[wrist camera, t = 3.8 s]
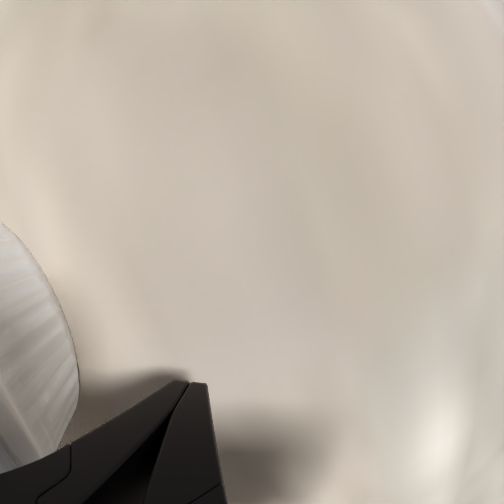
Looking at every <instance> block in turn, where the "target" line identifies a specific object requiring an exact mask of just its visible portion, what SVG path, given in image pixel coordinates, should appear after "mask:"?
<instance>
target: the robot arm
mask: <svg viewBox="0 0 504 504" xmlns="http://www.w3.org/2000/svg"><path fill="white" fill-rule="evenodd" d="M0 504H228V501H227V497H226V492H225V487H224V483H223V478H222V472H221V467H220V462H219V456H218V450H217V445H216V439H215V433H214V426H213V420H212V414H211V407H210V400H209V393H208V386H207V384H206V383H199V382H191V383H190V382H189V381H183V380H173V381H171V382H170V383H168V384H167V385H165V386H164V387H162V388H161V389H159V390H158V391H156V392H155V393H153V394H151V395H150V396H148V397H147V398H145V399H144V400H142V401H141V402H139V403H137V404H136V405H134V406H133V407H131V408H129V409H128V410H126V411H125V412H123V413H121V414H120V415H118V416H116V417H115V418H113V419H111V420H110V421H108V422H106V423H105V424H103V425H101V426H100V427H98V428H96V429H95V430H93V431H91V432H89V433H88V434H86V435H84V436H82V437H81V438H79V439H77V440H75V441H74V442H72V443H71V445H70V444H68V445H66V446H64V447H63V448H61V449H59V450H57V451H55V452H53V453H51V454H49V455H47V456H45V457H43V458H41V459H39V460H36V461H34V462H31V463H29V464H26V465H24V466H21V467H19V468H16V469H13V470H10V471H7V472H4V473H1V474H0Z"/></svg>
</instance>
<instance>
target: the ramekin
mask: <svg viewBox="0 0 504 504" xmlns="http://www.w3.org/2000/svg"><path fill="white" fill-rule="evenodd" d="M78 399H79V380H78V369H77V360H76V354H75V349H74V344H73V341H72V337H71V334H70V331H69V327H68V324H67V322H66V319H65V317H64V314H63V312H62V309H61V307H60V304H59V302H58V300H57V298H56V295H55V293H54V291H53V289H52V287H51V285H50V283H49V281H48V279H47V277H46V276H45V274H44V272H43V271H42V269H41V267H40V266H39V264H38V262H37V261H36V259H35V258H34V256H33V255H32V254H31V252H30V251H29V250H28V248H27V247H26V245H25V244H24V243H23V242H22V241H21V240H20V238H19V237H18V236H17V235H16V234H15V233H14V232H12V231H11V230H10V229H9V228H8V227H7V226H6V225H4V224H3V223H2V222H1V221H0V474H1V473H4V472H7V471H10V470H13V469H16V468H19V467H21V466H24V465H26V464H29V463H31V462H34V461H36V460H39V459H41V458H43V457H45V456H47V455H49V454H51V453H53V452H55V451H56V450H57V448H58V446H59V443H60V441H61V439H62V437H63V435H64V433H65V430H66V428H67V426H68V424H69V422H70V420H71V418H72V416H73V414H74V412H75V410H76V407H77V402H78Z"/></svg>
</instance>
